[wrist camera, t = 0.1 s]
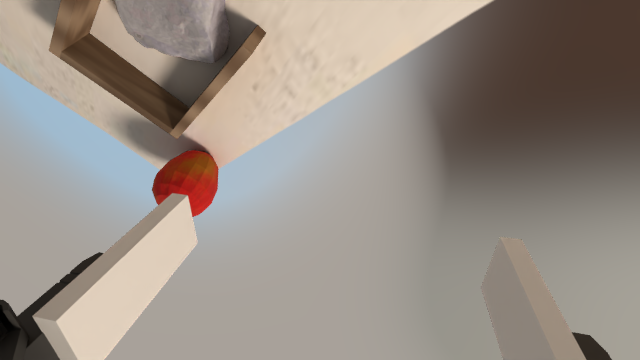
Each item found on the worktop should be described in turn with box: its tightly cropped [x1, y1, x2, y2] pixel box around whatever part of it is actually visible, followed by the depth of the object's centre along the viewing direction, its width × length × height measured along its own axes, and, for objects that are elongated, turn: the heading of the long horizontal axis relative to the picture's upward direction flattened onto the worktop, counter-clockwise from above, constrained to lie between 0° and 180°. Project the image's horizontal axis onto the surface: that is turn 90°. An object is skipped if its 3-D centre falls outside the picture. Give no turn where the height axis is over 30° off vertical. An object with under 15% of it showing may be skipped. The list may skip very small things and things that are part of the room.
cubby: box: [49, 0, 266, 139], centre depth 38 cm, size 19×17×5 cm
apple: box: [152, 150, 218, 217], centre depth 52 cm, size 9×9×12 cm
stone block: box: [115, 0, 230, 63], centre depth 36 cm, size 12×5×10 cm
